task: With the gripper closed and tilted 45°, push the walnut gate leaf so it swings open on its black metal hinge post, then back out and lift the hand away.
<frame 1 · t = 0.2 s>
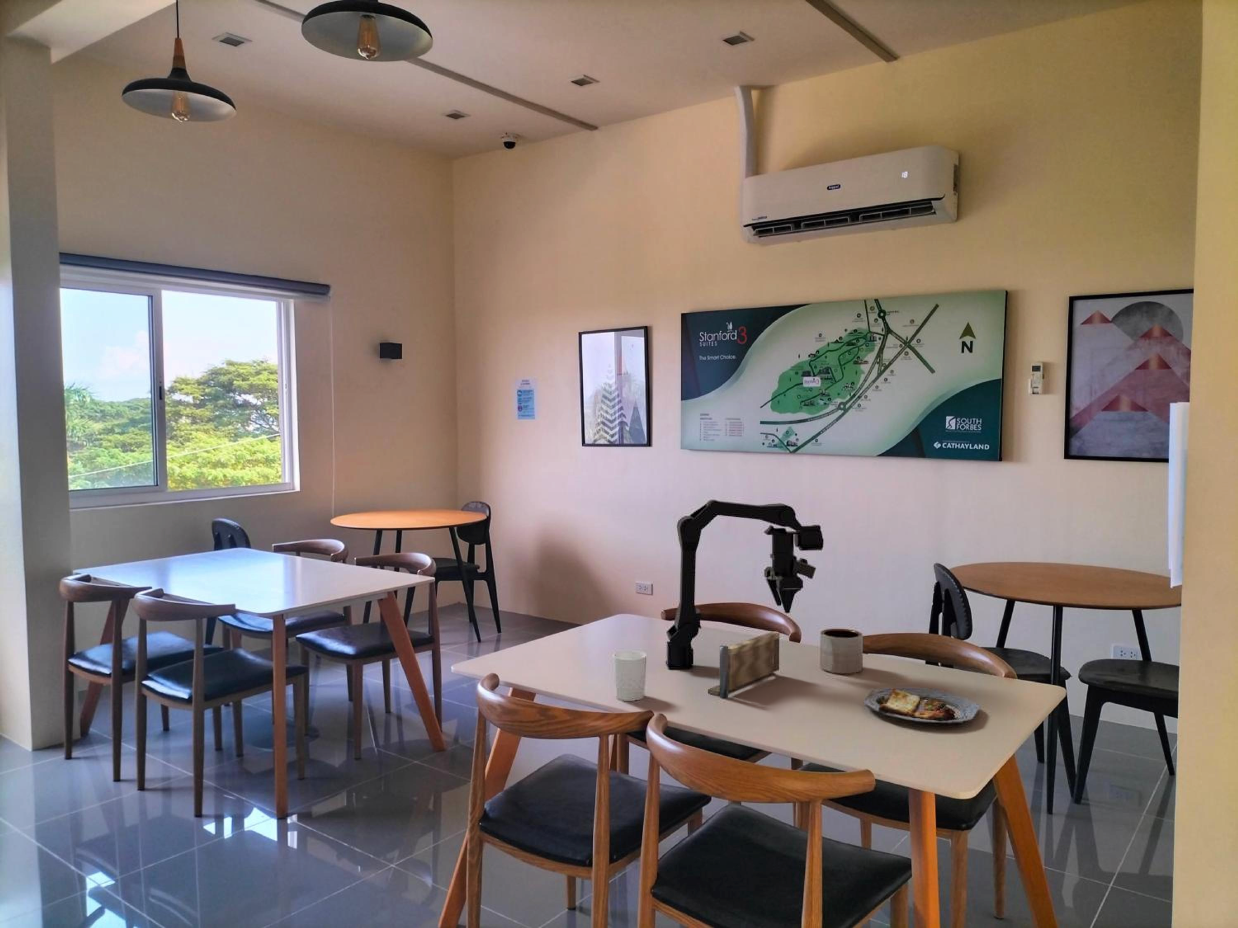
hand: (783, 609, 230), 15 cm above the table, tool pointing down, fingers open, 9 cm apart
gate frame: (723, 697, 202), on the table
planter: (841, 669, 226), on the table
food plate: (920, 713, 192), on the table
gate leaf: (753, 659, 212), point 6 cm above the table, hinge at 0.0°
white cup: (629, 697, 203), on the table
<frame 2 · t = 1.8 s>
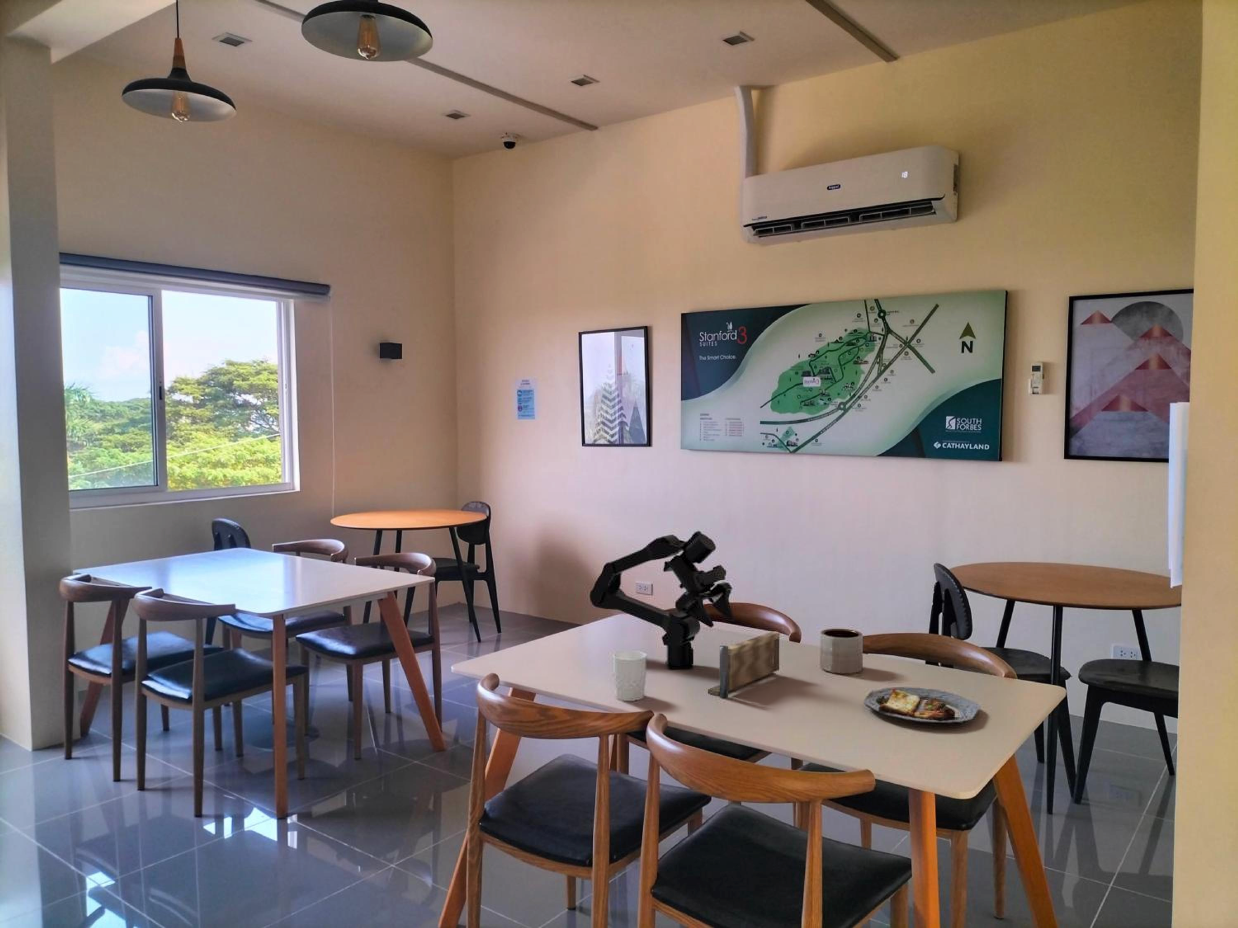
hand: (722, 623, 219), 13 cm above the table, tool tilted 45°, fingers open, 9 cm apart
nothing on the table moved.
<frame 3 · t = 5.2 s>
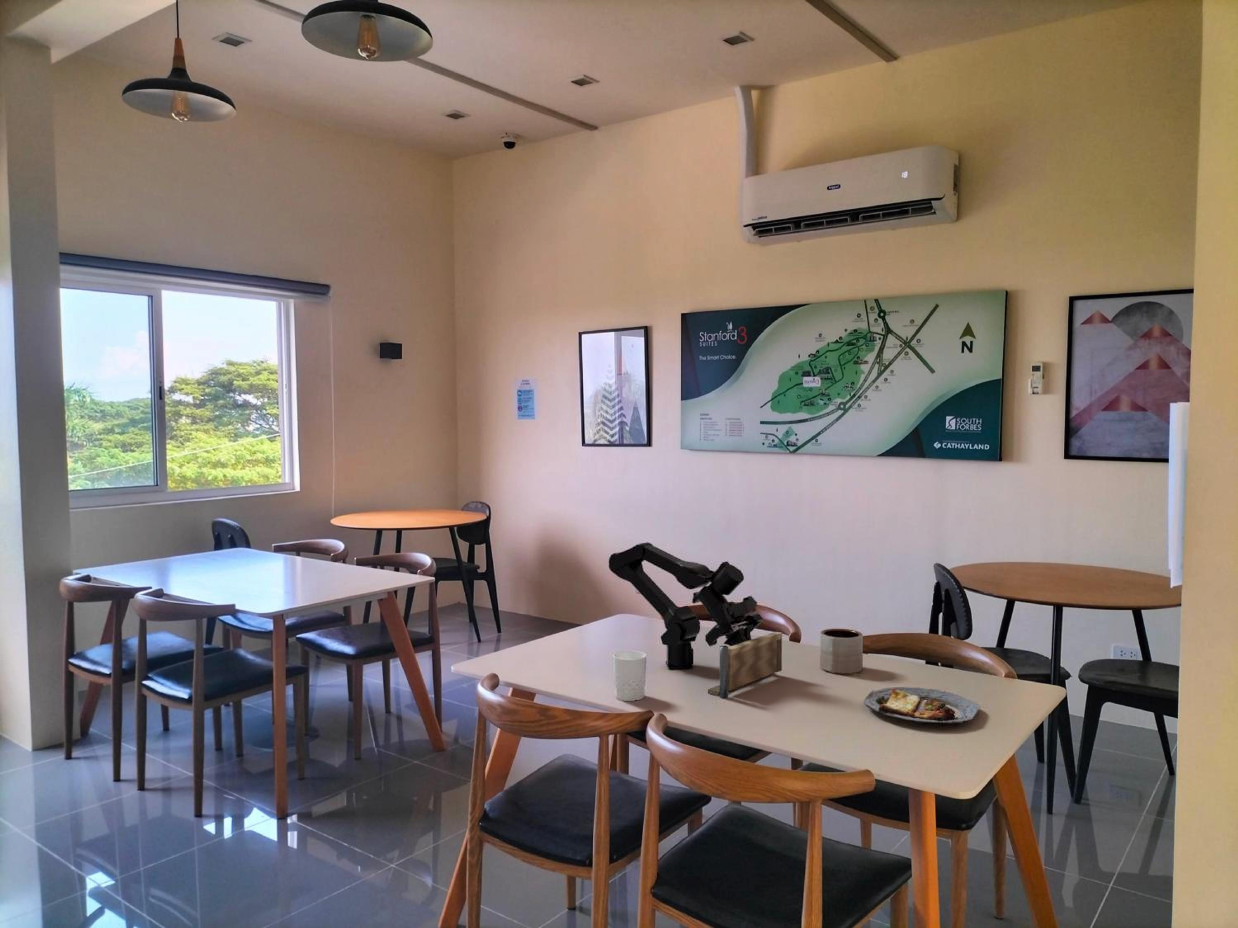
hand: (754, 656, 213), 7 cm above the table, tool tilted 45°, fingers closed, pressing on gate leaf
gate leaf: (754, 659, 211), point 6 cm above the table, hinge at 1.9°, touching gripper
everything else where it was.
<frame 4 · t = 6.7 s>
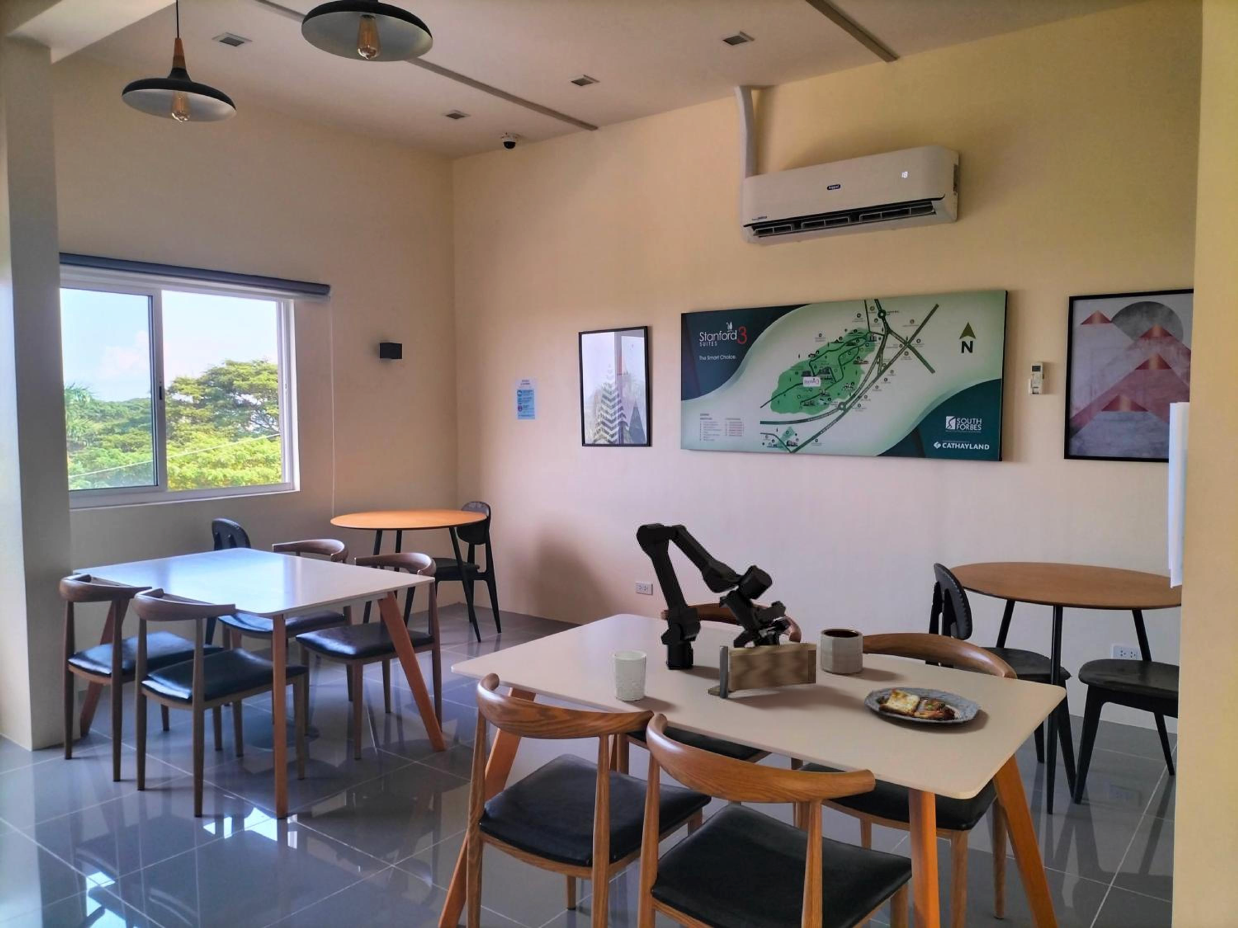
hand: (783, 662, 208), 7 cm above the table, tool tilted 45°, fingers closed
gate leaf: (773, 666, 206), point 6 cm above the table, hinge at 33.2°, touching gripper
everything else where it was.
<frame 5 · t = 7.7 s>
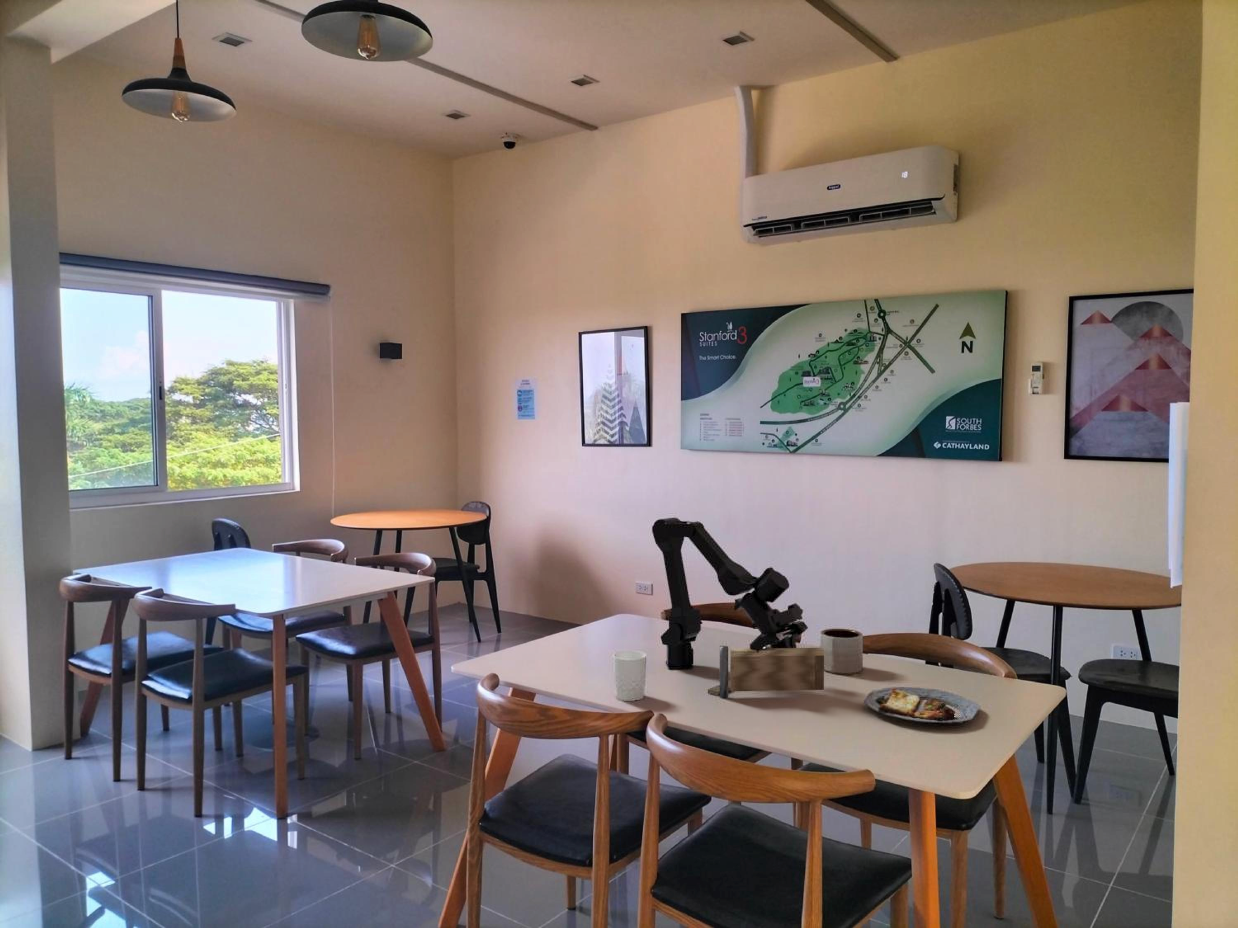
hand: (800, 666, 205), 7 cm above the table, tool tilted 45°, fingers closed
gate leaf: (777, 669, 203), point 6 cm above the table, hinge at 45.8°, touching gripper
everything else where it was.
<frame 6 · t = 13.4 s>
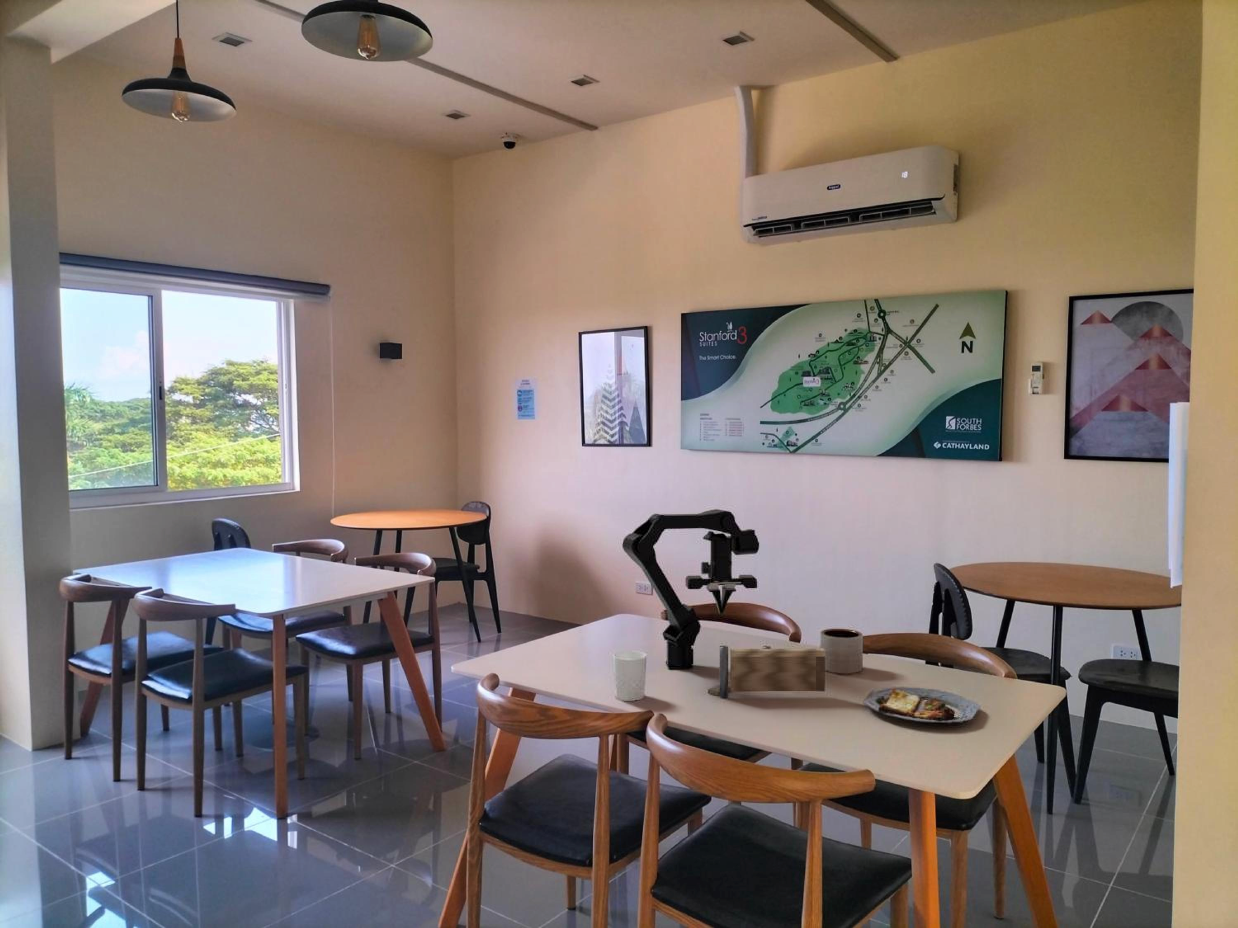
hand: (721, 613, 233), 13 cm above the table, tool pointing down, fingers closed
gate leaf: (777, 670, 202), point 6 cm above the table, hinge at 48.1°
everything else where it was.
at the end: gate leaf at +48° (first picture: +0°) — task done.
